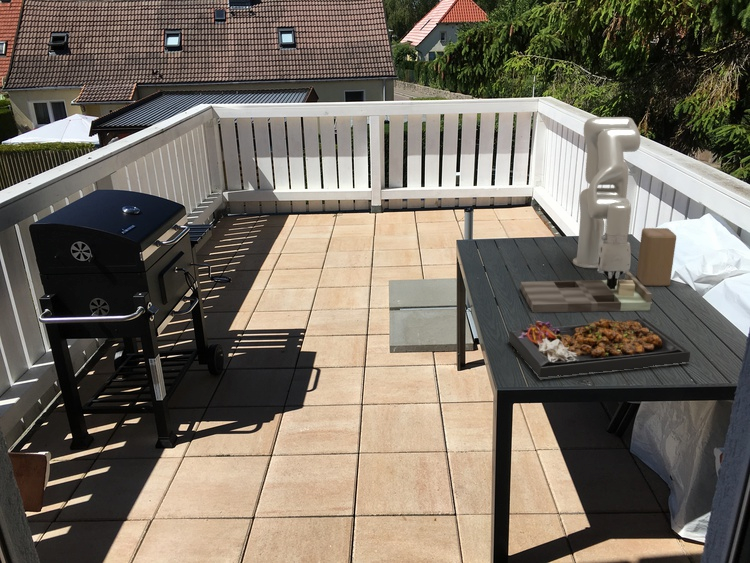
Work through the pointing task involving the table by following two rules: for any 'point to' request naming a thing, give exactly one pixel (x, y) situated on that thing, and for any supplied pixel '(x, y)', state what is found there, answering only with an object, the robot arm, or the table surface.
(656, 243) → the block
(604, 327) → the food platter
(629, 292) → the birch block
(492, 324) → the table surface
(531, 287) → the board
